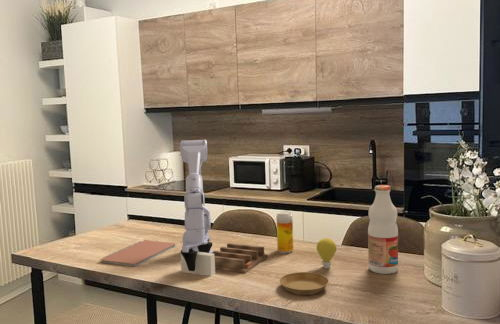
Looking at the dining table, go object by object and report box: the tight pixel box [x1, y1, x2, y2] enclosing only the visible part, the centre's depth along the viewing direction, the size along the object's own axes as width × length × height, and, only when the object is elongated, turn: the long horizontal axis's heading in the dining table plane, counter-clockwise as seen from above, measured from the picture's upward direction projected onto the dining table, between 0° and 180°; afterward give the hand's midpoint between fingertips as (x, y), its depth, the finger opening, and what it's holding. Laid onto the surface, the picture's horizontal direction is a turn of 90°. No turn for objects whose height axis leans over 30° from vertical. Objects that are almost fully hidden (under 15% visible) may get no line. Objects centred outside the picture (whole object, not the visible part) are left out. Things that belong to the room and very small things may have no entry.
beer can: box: [276, 211, 294, 254], centre depth 175 cm, size 6×6×15 cm
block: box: [179, 251, 216, 277], centre depth 155 cm, size 12×2×7 cm, turn 64°
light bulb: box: [316, 237, 337, 269], centre depth 155 cm, size 7×7×10 cm
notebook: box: [100, 239, 177, 268], centre depth 179 cm, size 27×17×2 cm, turn 156°
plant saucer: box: [279, 271, 330, 296], centre depth 138 cm, size 15×15×3 cm
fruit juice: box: [367, 184, 399, 275], centre depth 150 cm, size 9×9×28 cm
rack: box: [212, 242, 268, 274], centre depth 165 cm, size 17×18×4 cm
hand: (197, 267), depth 155 cm, fingers open, 7 cm apart
